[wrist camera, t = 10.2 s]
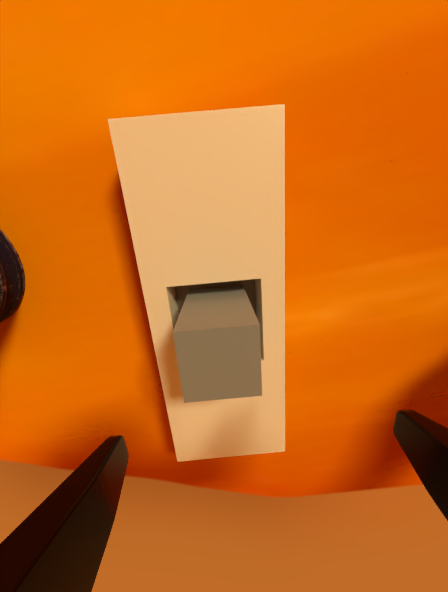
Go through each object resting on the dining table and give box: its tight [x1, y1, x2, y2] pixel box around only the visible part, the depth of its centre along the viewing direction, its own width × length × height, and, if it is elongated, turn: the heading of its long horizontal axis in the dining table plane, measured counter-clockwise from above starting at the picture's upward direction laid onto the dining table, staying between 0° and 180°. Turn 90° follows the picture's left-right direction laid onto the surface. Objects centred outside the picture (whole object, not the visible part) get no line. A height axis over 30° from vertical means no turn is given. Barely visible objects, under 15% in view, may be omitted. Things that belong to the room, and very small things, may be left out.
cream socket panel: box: [108, 104, 285, 462], centre depth 17 cm, size 9×24×4 cm, turn 5°
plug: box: [172, 285, 262, 403], centre depth 14 cm, size 4×4×7 cm
